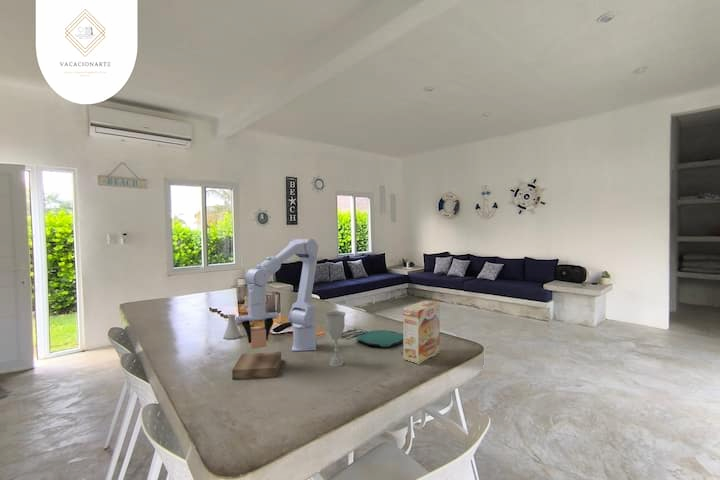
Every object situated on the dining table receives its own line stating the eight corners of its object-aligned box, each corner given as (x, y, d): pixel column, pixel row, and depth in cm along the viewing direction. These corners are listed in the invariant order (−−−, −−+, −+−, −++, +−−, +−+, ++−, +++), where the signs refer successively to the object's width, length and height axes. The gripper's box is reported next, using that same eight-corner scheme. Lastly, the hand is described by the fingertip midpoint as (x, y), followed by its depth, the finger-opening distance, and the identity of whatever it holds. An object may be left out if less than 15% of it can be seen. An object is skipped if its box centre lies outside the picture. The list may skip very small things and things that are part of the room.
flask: (235, 340, 150) (234, 317, 150) (220, 339, 152) (219, 316, 151) (243, 335, 157) (243, 313, 157) (229, 334, 159) (228, 312, 158)
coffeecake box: (419, 365, 121) (418, 310, 120) (402, 360, 126) (402, 307, 125) (440, 353, 132) (440, 302, 131) (424, 348, 137) (424, 300, 136)
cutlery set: (387, 353, 133) (387, 347, 133) (330, 339, 152) (330, 334, 152) (413, 340, 149) (413, 334, 149) (359, 328, 168) (359, 324, 167)
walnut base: (281, 360, 127) (281, 352, 127) (276, 376, 113) (276, 367, 113) (242, 362, 126) (242, 354, 126) (232, 379, 112) (232, 370, 112)
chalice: (330, 369, 119) (329, 317, 118) (323, 362, 125) (322, 312, 124) (349, 364, 122) (349, 314, 121) (341, 358, 128) (341, 310, 127)
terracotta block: (264, 342, 126) (263, 325, 125) (266, 346, 121) (266, 329, 121) (249, 344, 124) (249, 327, 123) (251, 348, 119) (251, 331, 119)
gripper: (275, 298, 128) (276, 334, 129) (234, 302, 122) (235, 340, 123) (279, 302, 122) (280, 340, 122) (236, 306, 116) (237, 346, 116)
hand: (258, 340), depth 122 cm, fingers closed on terracotta block, 5 cm apart
